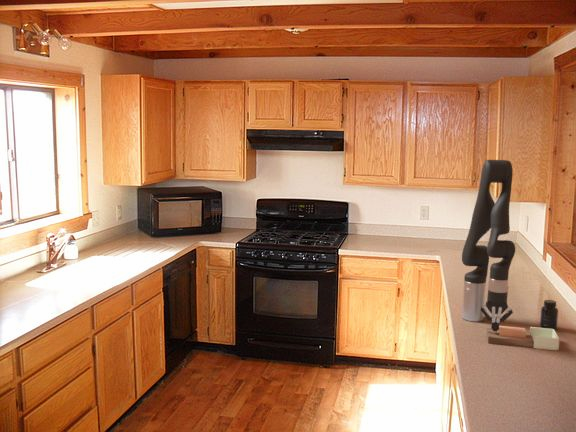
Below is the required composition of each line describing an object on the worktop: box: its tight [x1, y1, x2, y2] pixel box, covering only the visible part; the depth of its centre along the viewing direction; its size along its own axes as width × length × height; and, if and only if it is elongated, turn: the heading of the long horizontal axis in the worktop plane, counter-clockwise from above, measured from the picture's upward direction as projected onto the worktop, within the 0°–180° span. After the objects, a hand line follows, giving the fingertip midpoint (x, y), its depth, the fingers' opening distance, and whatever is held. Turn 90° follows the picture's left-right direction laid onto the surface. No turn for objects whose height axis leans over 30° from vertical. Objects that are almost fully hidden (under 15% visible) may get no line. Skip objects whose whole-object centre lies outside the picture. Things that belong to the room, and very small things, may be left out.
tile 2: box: [511, 326, 527, 338], centre depth 249 cm, size 5×5×2 cm
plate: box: [485, 327, 534, 349], centre depth 250 cm, size 11×17×2 cm, turn 76°
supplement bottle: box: [539, 299, 559, 331], centre depth 265 cm, size 7×7×12 cm
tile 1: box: [498, 325, 513, 337], centre depth 250 cm, size 5×5×2 cm
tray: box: [529, 326, 560, 351], centre depth 247 cm, size 12×9×5 cm
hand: (494, 330), depth 251 cm, fingers closed
